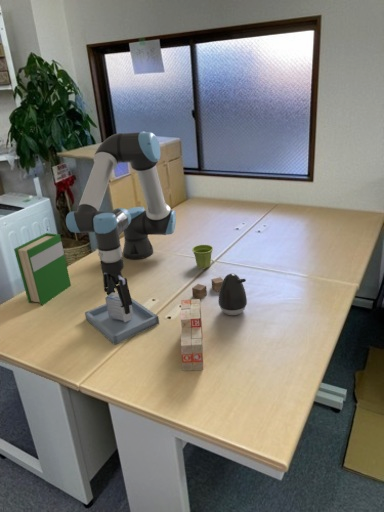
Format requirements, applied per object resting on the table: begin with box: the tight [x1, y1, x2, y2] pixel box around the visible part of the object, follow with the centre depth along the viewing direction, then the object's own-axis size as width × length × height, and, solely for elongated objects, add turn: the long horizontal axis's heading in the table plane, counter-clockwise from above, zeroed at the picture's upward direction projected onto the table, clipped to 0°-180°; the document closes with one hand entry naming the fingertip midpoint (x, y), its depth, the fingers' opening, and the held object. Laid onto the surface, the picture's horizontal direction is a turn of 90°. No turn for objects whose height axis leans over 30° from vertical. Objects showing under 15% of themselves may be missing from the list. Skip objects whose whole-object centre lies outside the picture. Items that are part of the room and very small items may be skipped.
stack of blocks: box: [180, 298, 204, 372], centre depth 126 cm, size 21×6×12 cm, turn 0°
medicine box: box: [104, 292, 133, 321], centre depth 144 cm, size 8×4×9 cm, turn 65°
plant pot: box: [191, 244, 214, 269], centre depth 183 cm, size 9×9×9 cm
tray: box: [84, 297, 160, 345], centre depth 146 cm, size 22×18×3 cm
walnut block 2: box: [210, 276, 224, 292], centre depth 163 cm, size 4×4×4 cm
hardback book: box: [13, 232, 72, 307], centre depth 166 cm, size 18×7×24 cm, turn 156°
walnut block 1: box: [191, 283, 208, 300], centre depth 159 cm, size 4×4×4 cm
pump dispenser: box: [218, 273, 248, 316], centre depth 144 cm, size 10×10×15 cm
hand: (120, 315), depth 145 cm, fingers closed on medicine box, 9 cm apart
